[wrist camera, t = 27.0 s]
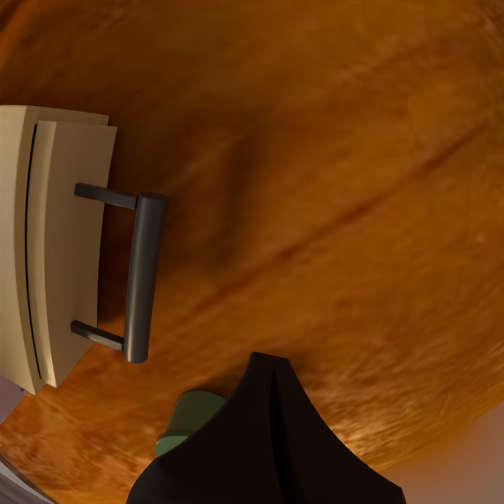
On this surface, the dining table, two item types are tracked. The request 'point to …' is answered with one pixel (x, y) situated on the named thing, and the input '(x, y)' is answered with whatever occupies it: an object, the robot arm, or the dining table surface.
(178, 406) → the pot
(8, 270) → the cabinet
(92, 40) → the dining table surface
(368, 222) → the dining table surface
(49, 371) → the drawer
